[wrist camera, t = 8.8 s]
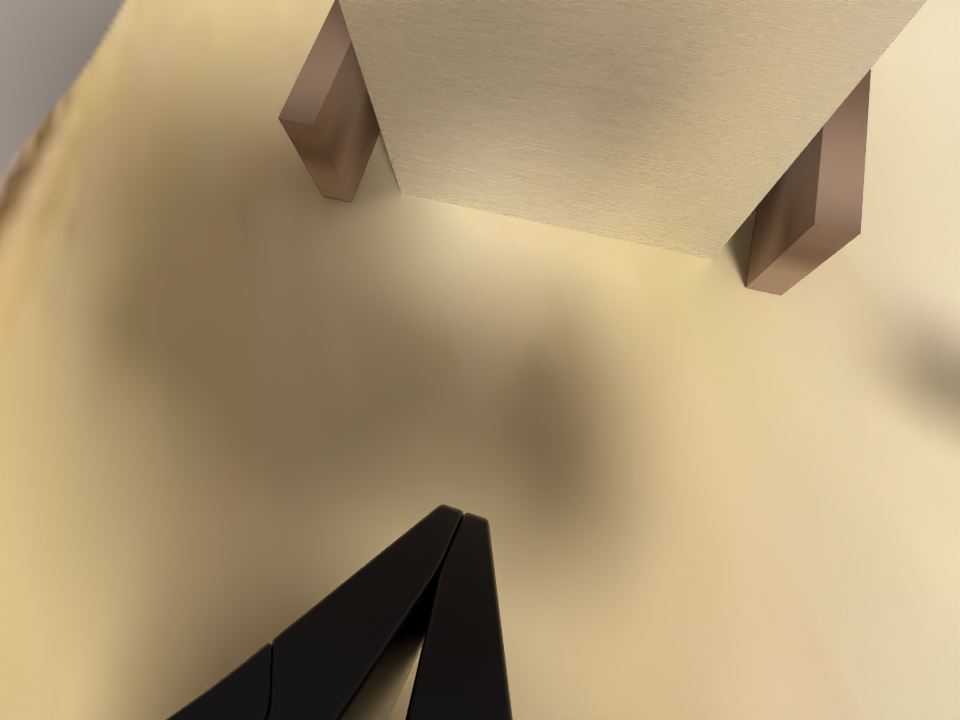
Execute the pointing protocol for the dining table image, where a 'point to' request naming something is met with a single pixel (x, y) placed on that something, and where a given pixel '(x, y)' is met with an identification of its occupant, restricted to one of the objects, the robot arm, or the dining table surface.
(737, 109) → the bracket
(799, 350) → the dining table surface
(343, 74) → the bay
